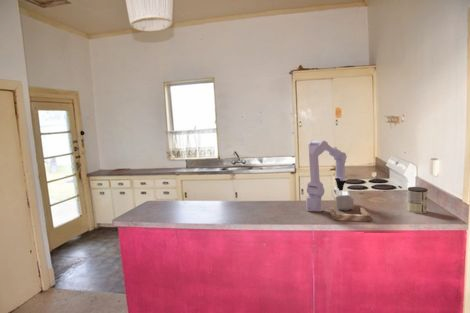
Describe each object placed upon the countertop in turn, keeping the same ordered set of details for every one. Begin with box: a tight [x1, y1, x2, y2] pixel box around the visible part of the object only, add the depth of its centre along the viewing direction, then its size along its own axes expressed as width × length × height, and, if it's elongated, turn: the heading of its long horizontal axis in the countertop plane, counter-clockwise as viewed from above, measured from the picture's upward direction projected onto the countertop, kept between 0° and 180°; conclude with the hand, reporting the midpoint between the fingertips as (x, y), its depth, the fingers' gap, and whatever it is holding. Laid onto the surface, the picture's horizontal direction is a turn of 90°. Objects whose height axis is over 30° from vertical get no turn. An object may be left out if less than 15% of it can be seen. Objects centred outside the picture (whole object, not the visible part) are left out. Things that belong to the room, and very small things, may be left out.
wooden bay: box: [329, 206, 372, 222], centre depth 184 cm, size 20×17×3 cm
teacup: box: [334, 194, 354, 212], centre depth 200 cm, size 14×11×8 cm
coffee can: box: [407, 186, 428, 215], centre depth 190 cm, size 10×10×14 cm
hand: (340, 189), depth 214 cm, fingers open, 6 cm apart
